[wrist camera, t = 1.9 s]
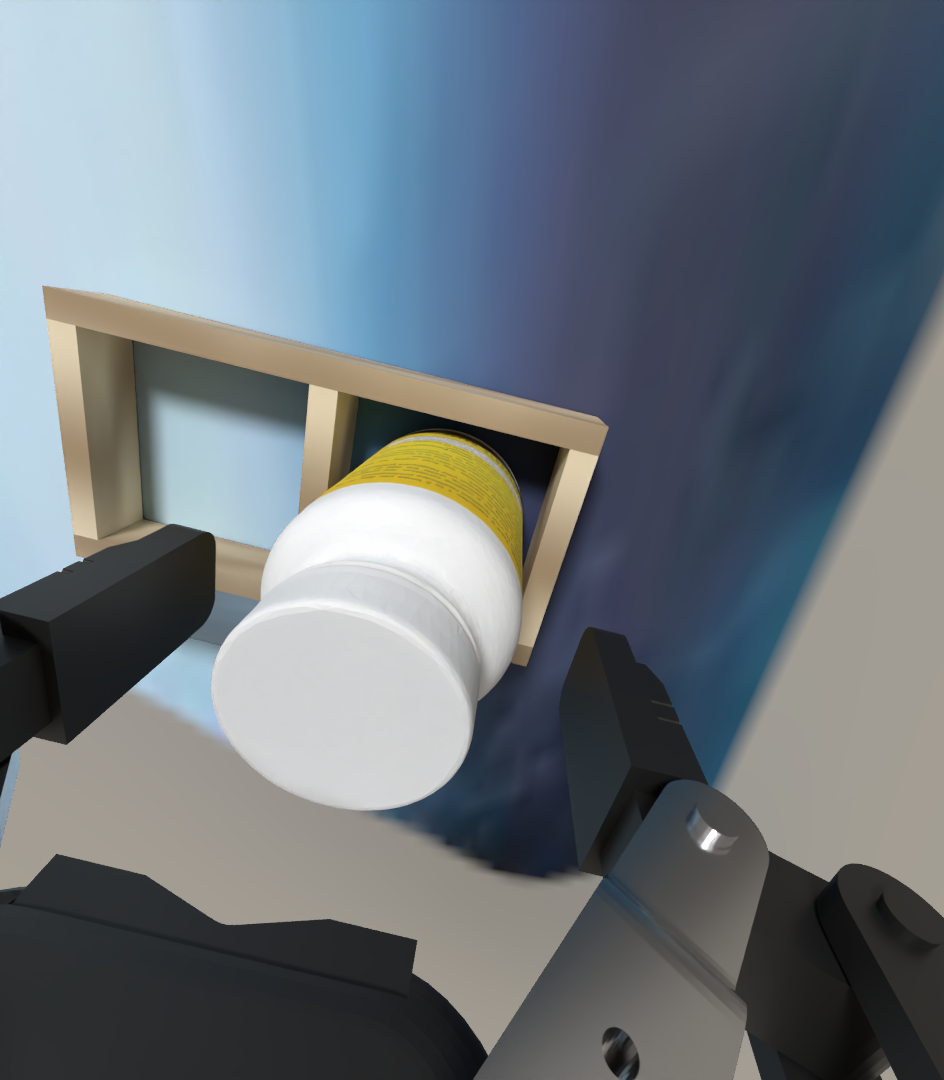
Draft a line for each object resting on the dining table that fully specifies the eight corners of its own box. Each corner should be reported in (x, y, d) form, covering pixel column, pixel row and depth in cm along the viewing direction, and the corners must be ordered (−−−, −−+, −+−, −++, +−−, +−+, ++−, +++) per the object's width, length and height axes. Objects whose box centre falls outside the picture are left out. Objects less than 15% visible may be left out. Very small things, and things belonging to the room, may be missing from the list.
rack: (104, 293, 14) (-42, 275, 10) (596, 416, 14) (624, 441, 11) (124, 542, 17) (18, 595, 14) (522, 641, 18) (523, 719, 14)
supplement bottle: (365, 414, 15) (131, 521, 6) (534, 437, 15) (562, 584, 6) (361, 566, 17) (185, 815, 8) (509, 587, 17) (500, 868, 8)
